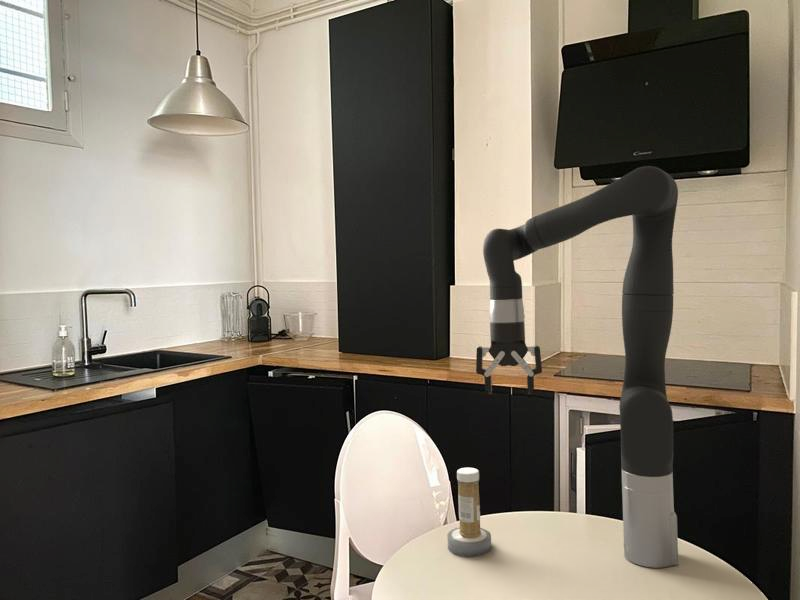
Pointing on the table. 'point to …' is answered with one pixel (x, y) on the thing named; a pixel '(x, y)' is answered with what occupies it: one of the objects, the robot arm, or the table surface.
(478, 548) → the stand
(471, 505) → the sprinkles bottle
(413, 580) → the table surface
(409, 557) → the table surface
